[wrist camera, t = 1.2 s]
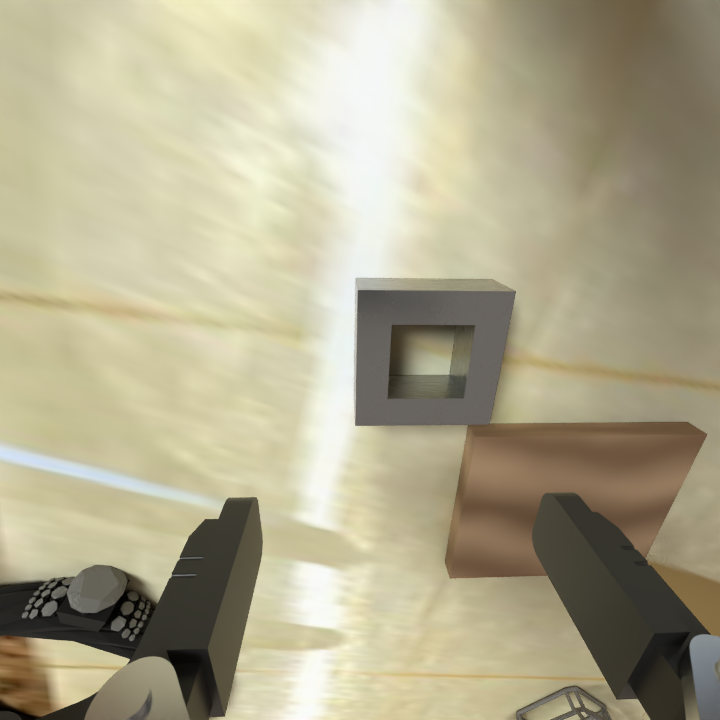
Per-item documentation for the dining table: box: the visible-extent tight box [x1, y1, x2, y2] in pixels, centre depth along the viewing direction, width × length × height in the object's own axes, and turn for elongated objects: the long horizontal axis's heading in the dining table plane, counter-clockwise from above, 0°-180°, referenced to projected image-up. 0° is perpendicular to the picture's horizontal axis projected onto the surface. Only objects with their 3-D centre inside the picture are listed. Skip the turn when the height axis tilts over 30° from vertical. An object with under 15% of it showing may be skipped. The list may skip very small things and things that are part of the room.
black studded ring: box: [0, 565, 154, 720], centre depth 33 cm, size 28×4×30 cm
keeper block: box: [445, 422, 707, 578], centre depth 25 cm, size 14×16×6 cm
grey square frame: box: [354, 278, 516, 426], centre depth 21 cm, size 8×8×3 cm
